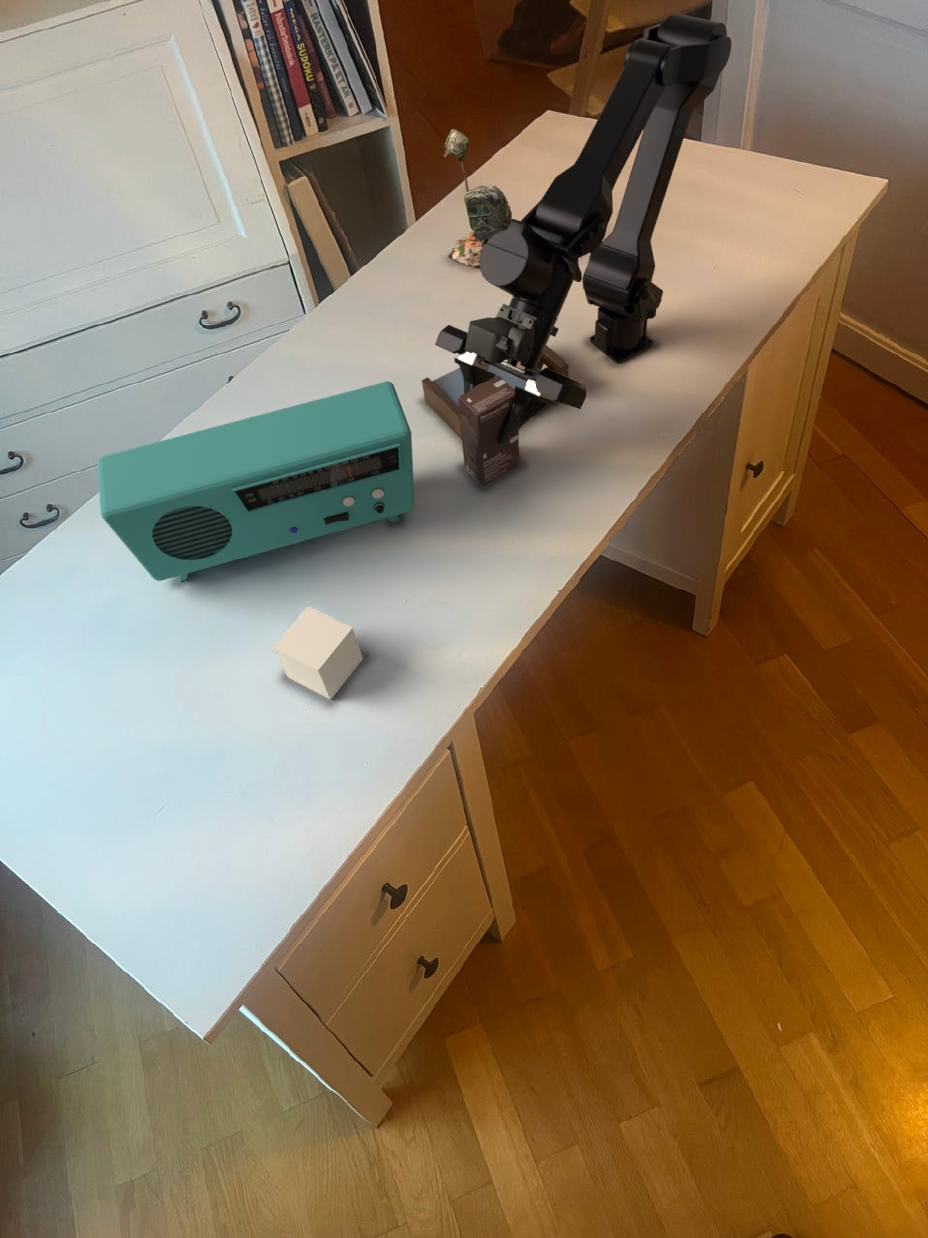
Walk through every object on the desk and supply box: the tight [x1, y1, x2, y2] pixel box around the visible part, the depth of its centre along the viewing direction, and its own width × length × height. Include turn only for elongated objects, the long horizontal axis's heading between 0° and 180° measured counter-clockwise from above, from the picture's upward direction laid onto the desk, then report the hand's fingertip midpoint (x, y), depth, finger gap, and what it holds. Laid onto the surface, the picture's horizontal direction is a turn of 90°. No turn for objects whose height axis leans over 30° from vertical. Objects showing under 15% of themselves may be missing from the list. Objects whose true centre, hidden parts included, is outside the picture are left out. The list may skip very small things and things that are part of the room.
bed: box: [421, 344, 570, 441], centre depth 117 cm, size 16×11×5 cm
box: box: [458, 376, 520, 486], centre depth 107 cm, size 6×4×12 cm
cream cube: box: [272, 605, 364, 701], centre depth 94 cm, size 6×6×6 cm
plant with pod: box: [442, 128, 513, 268], centre depth 130 cm, size 8×11×20 cm
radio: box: [97, 381, 415, 582], centre depth 103 cm, size 34×10×15 cm, turn 105°
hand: (482, 435), depth 106 cm, fingers closed on box, 5 cm apart
